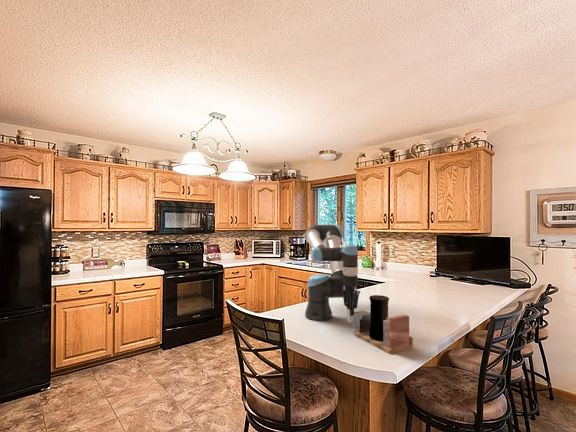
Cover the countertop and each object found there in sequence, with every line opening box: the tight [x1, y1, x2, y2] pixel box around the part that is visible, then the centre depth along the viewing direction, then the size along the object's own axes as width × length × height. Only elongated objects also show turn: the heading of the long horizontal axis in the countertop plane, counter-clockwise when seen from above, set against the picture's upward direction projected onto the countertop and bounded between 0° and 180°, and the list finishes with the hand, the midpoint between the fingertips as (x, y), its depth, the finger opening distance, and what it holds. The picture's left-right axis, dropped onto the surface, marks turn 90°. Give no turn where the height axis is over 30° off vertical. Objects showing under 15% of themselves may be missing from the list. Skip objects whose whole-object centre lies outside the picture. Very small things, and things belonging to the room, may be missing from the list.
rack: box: [353, 314, 414, 355], centre depth 138 cm, size 23×13×14 cm, turn 26°
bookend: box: [353, 310, 370, 333], centre depth 149 cm, size 7×10×8 cm
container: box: [368, 294, 390, 341], centre depth 138 cm, size 9×9×18 cm
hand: (350, 321), depth 158 cm, fingers closed
